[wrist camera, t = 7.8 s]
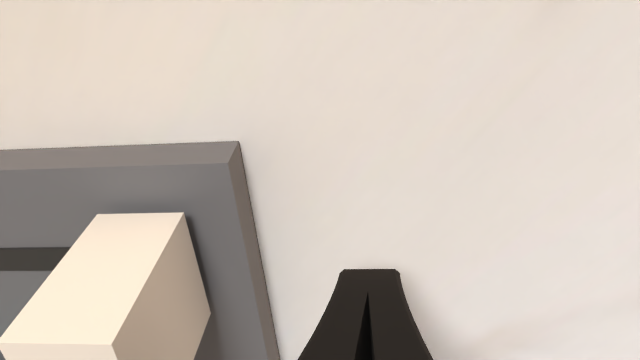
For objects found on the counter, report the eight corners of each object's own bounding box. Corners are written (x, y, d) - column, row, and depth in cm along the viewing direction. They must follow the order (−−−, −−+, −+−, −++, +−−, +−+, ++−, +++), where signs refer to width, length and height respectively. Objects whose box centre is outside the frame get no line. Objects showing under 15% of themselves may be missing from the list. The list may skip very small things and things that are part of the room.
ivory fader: (210, 313, 16) (157, 456, 12) (133, 312, 16) (58, 452, 12) (183, 212, 14) (111, 344, 10) (97, 214, 14) (-4, 342, 10)
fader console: (296, 449, 22) (289, 500, 20) (23, 439, 23) (-5, 485, 22) (238, 141, 14) (219, 179, 13) (-151, 155, 16) (-214, 191, 14)
